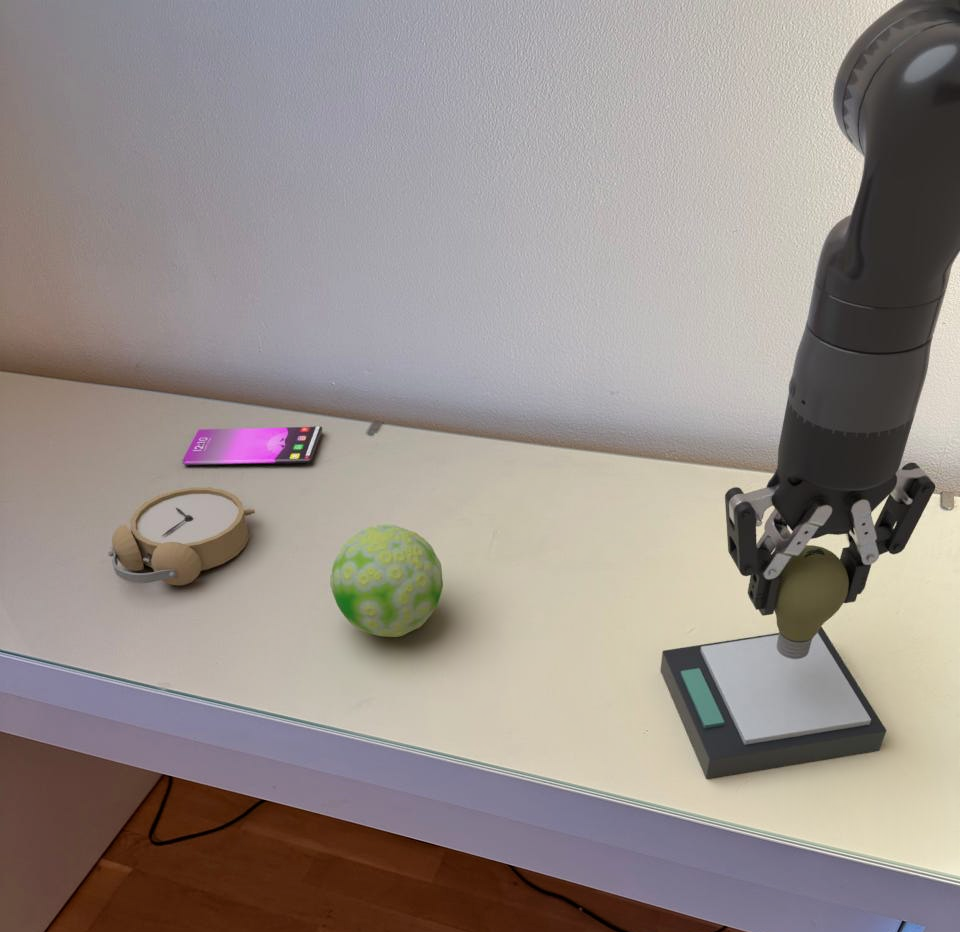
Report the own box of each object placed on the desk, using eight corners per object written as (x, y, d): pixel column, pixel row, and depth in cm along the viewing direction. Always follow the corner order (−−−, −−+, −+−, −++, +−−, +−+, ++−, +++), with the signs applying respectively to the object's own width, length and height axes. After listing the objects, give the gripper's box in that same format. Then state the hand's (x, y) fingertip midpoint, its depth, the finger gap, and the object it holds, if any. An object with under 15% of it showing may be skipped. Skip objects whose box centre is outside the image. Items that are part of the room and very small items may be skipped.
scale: (816, 645, 83) (823, 620, 81) (879, 750, 75) (889, 725, 73) (660, 670, 82) (662, 645, 80) (706, 779, 74) (710, 754, 72)
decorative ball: (457, 592, 91) (449, 506, 84) (431, 666, 84) (421, 579, 77) (358, 582, 93) (342, 497, 86) (325, 654, 86) (305, 568, 79)
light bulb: (784, 619, 77) (806, 519, 70) (843, 655, 74) (872, 553, 67) (738, 653, 75) (757, 552, 68) (798, 691, 71) (823, 589, 65)
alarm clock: (268, 501, 98) (164, 565, 87) (272, 544, 101) (172, 610, 90) (184, 476, 102) (74, 534, 91) (190, 518, 105) (85, 578, 94)
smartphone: (311, 466, 108) (310, 459, 107) (182, 466, 109) (180, 460, 108) (324, 431, 113) (322, 425, 112) (200, 432, 114) (198, 425, 114)
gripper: (762, 443, 56) (726, 651, 67) (996, 411, 57) (921, 621, 68) (718, 381, 61) (692, 583, 73) (932, 353, 62) (873, 556, 74)
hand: (803, 601), depth 71 cm, fingers closed on light bulb, 5 cm apart
